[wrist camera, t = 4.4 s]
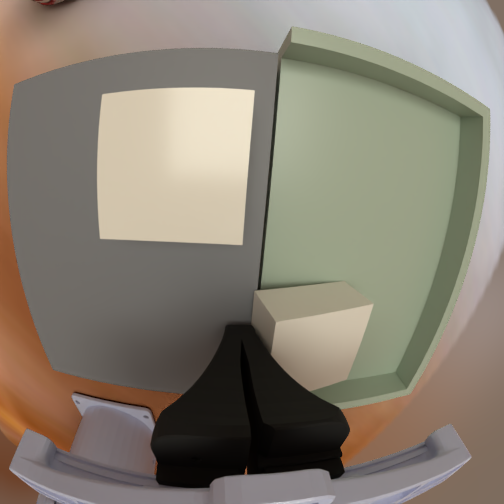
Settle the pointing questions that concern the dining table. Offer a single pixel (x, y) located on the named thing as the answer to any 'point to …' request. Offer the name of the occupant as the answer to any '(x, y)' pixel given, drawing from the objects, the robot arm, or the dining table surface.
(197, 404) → the robot arm
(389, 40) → the dining table surface
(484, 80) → the dining table surface
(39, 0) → the soda can
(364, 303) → the tile inner
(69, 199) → the gray rectangular slab
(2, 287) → the dining table surface
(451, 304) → the box
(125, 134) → the tile outer
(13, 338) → the dining table surface
